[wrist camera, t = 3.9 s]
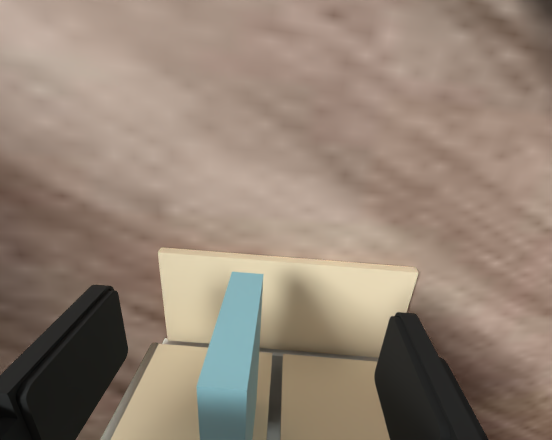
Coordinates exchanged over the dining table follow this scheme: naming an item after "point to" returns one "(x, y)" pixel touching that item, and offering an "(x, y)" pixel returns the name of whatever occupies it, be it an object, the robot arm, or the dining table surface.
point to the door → (204, 380)
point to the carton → (299, 332)
